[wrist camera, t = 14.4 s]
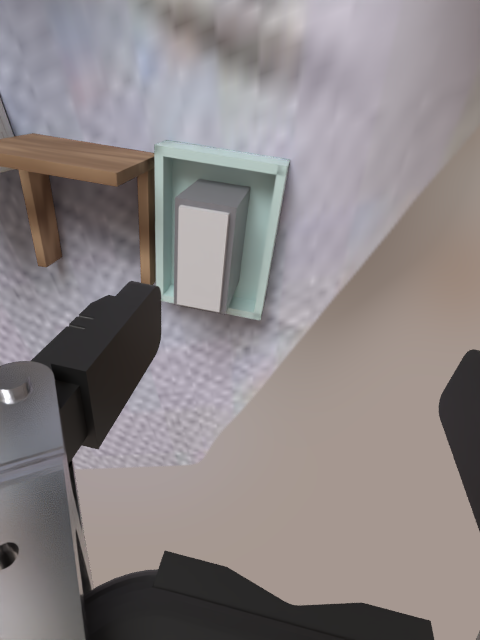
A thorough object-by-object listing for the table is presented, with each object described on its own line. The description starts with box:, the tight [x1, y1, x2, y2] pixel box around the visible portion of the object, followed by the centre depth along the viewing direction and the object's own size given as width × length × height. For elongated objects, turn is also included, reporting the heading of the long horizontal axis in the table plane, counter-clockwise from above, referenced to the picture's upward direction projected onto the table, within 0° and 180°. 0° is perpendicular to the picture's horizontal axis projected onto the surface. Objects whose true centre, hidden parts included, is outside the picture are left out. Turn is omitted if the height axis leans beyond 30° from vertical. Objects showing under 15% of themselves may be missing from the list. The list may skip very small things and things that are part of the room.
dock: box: [0, 133, 156, 285], centre depth 36 cm, size 13×13×9 cm
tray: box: [154, 140, 290, 320], centre depth 37 cm, size 16×12×3 cm
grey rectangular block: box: [174, 179, 251, 314], centre depth 35 cm, size 10×5×8 cm, turn 172°
